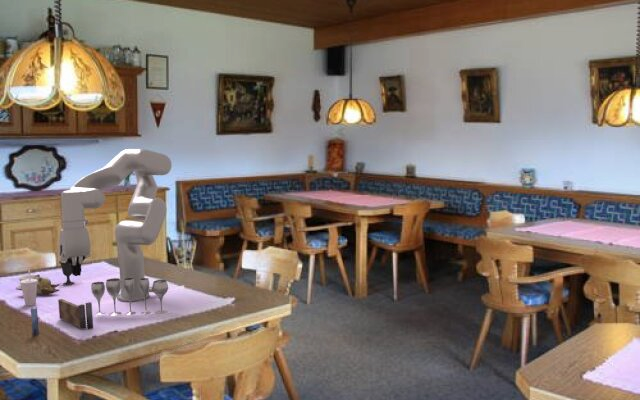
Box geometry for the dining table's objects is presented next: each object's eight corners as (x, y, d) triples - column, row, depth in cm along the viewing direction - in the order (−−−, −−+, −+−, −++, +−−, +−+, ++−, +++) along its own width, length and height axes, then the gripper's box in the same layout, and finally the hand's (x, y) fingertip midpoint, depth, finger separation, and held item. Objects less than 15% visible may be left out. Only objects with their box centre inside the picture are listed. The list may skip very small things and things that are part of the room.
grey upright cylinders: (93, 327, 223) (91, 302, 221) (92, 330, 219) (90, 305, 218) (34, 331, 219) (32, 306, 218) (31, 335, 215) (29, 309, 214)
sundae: (63, 282, 285) (60, 249, 283) (78, 281, 285) (76, 248, 284) (58, 286, 278) (55, 252, 276) (74, 285, 279) (71, 251, 277)
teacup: (25, 291, 271) (25, 280, 271) (11, 288, 277) (11, 277, 276) (46, 286, 280) (46, 275, 279) (32, 283, 285) (32, 272, 284)
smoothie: (32, 307, 247) (29, 272, 245) (18, 306, 249) (15, 271, 247) (42, 302, 253) (40, 268, 252) (28, 302, 255) (25, 267, 253)
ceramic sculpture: (20, 272, 267) (59, 270, 273) (20, 292, 268) (59, 290, 274) (19, 278, 257) (59, 276, 263) (19, 299, 259) (59, 297, 264)
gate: (87, 327, 221) (85, 305, 220) (81, 329, 220) (80, 306, 219) (63, 317, 233) (62, 295, 232) (58, 318, 232) (56, 297, 231)
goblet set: (90, 317, 234) (88, 281, 233) (95, 312, 240) (93, 277, 238) (167, 314, 235) (166, 279, 234) (170, 310, 241) (169, 275, 239)
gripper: (88, 221, 236) (91, 270, 238) (48, 226, 225) (51, 277, 227) (98, 223, 231) (101, 273, 233) (58, 228, 220) (61, 280, 222)
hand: (76, 275), depth 230 cm, fingers closed
